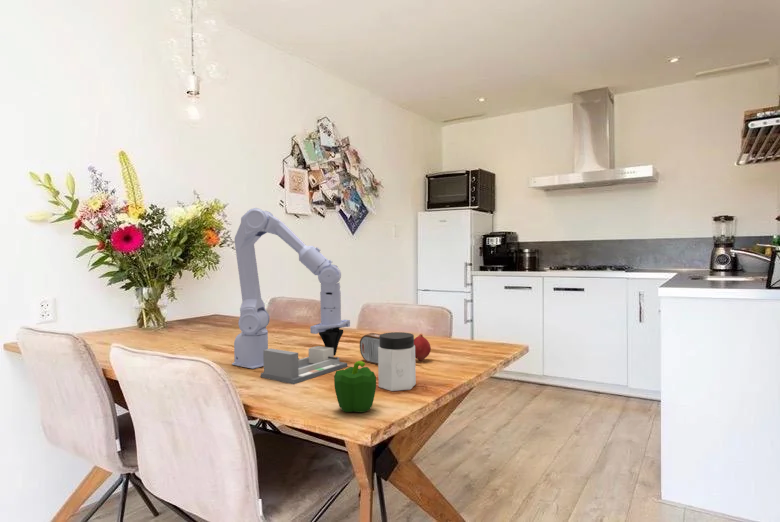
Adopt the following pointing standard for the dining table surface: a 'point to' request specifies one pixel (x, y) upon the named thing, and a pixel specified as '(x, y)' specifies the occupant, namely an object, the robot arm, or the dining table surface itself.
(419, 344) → the onion
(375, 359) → the tin
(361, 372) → the bell pepper
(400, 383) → the jar
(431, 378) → the dining table surface
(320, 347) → the slider
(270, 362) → the gauge rail
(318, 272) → the robot arm
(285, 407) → the dining table surface
